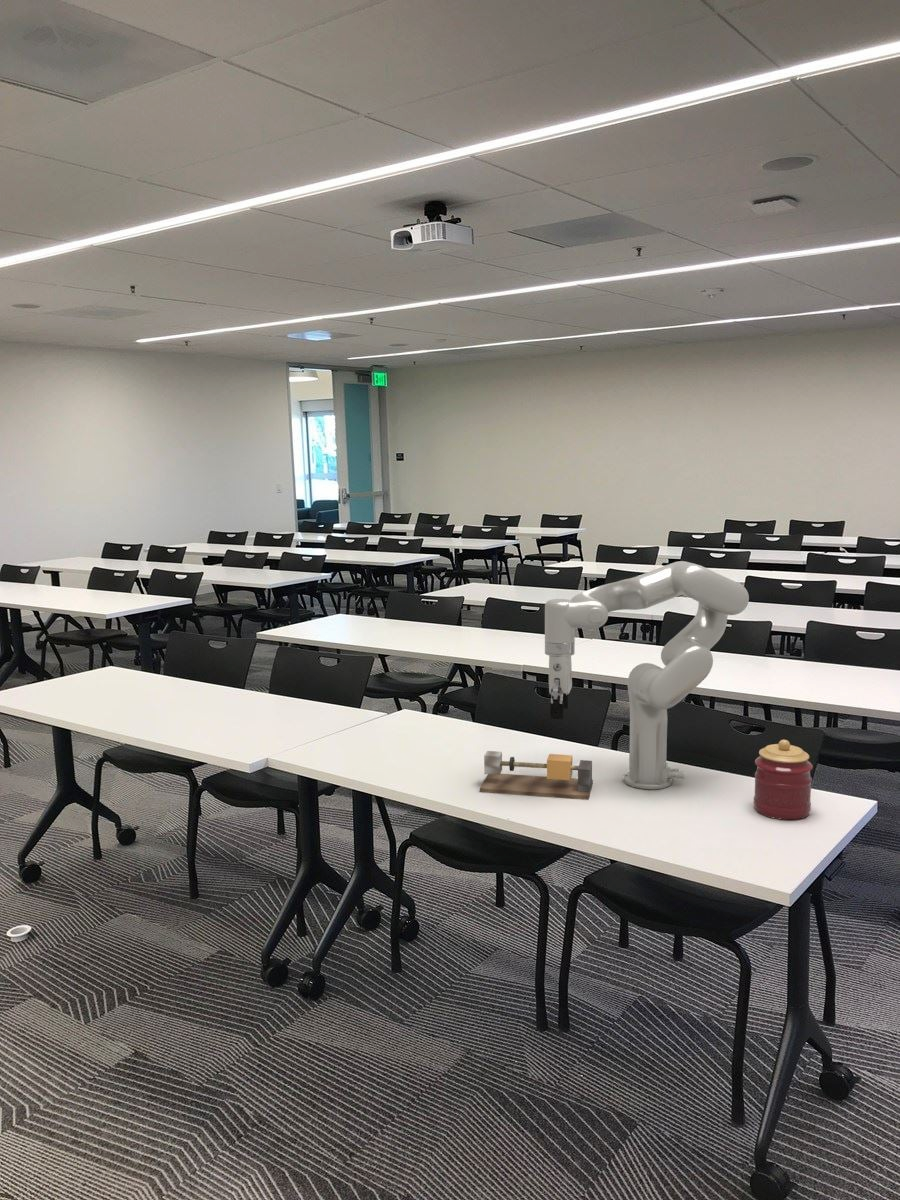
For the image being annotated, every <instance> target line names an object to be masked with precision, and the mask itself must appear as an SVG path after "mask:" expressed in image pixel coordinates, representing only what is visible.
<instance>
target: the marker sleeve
mask: <svg viewBox="0 0 900 1200" xmlns="http://www.w3.org/2000/svg"><path fill="white" fill-rule="evenodd" d="M546 764H547V768H546V777H547V779H558V780H571V778H573V776H572V775H573V770H571V765H573V754H571V755H570V754H555V753H549V754H548V756H547V759H546Z"/></svg>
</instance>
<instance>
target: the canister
mask: <svg viewBox="0 0 900 1200" xmlns="http://www.w3.org/2000/svg"><path fill="white" fill-rule="evenodd" d="M758 751H759V752H758V754H759V756H758V757H756V758H755V760H754V764H755V765H756V766H757V767H756V771H755V772H754V796H753V805H754V809H755V811H756V810H757V811H756V812H757V813H759V814H761V815H763V816H765V815H766V817H768V816H769V817H768V818H771V817H774V818H773V819H776V818H781V819H780V820H783V819H796V820H800V819H799V818H802V819H804V818H803V817H805V818H807V817H808V816H810V811H811V810H812V806H811V805H812V802H811V797H812V796H811V795H812V794H811V791H812V782H813V779H812V778H813V777H812V776H811V771H812V769H813V763H811V762H810V761H809V759H810V755H809V754H808V753H807V752H806V751H805V750H803V748H801V747H799V746H796V745H792V744H791V743H790V741H789V740H787V739H780V741H779V742H778V743H775V744H768V745H766V746H765V747H763V748H761V749H759V750H758ZM806 816H807V817H806Z"/></svg>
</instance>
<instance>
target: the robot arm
mask: <svg viewBox="0 0 900 1200" xmlns="http://www.w3.org/2000/svg"><path fill="white" fill-rule="evenodd" d="M680 596H684V597H688V598H690V599H692V600H693V601H694V600H695V601H696V602H698V607H697V612H696V613H695V615H694V617H693V619H692V620H691V621H690V622H689V623H688V624H687V625H686V626H685V627H683V628H682V629H681V630H680V631H679V632H678V633H677V634H676V635H675V636H673V637H672V638H671V639H670V640H669V641H668V642H667V643H666V644H665V645H664V646H663V648H662V649H661V652H660V653H661V654H660V660H661V662H662V663H663V665H664V667H663V668H662V667H661V666H658V665H656V664H654V663H650V662H645V663H639V664H638V665H636V666H635V667H633V668H632V670H631V671H630V672H629V675H628V679H627V691H628V692H627V693H628V700H629V701H628V702H629V720H630V721H629V759H628V760H629V769H628V771H627V772H625V773H624V774H623V782H624V783H625V784H627V785H628V786H631V787H634V788H636V789H643V790H660V789H664V788H667V787H669V786H671V785H672V783H673V778H676V779H683V780H684V779H685V778H684V777H685V771H684V770H680V769H679V768H671V767H670V766H668V763H669V762H667V749H668V748H667V746H668V743H667V739H668V709H671V708H673V707H675V706H676V705H677V704H679V703H680V702H681V701H682V700H683V699H684V698H685V697H687V696H688V695H689V694H690V693H691V692H692V691H693V690H694V689H695V688H697V687H698V686H699V685H700V684H701V683H702V682H703V681H704V680H706V678H707V677H708V676H709V674H710V673H711V671H712V668H713V664H714V658H713V654H712V652H711V649H712V648H713V647H714V646H715V645H716V644H717V643H718V642H719V641H720V640H721V638H722V636H723V635H724V633H725V630H726V629H727V624H728V623H727V622H728V616H736V615H738V614H741V613H742V612H744V611H745V610H746V608H747V607H748V605H749V602H750V601H749V600H750V596H749V592H748V590H747V589H746V587H745V586H744V585H742V583H739V582H738V581H735V580H733V579H731V578H729V577H726V576H725V575H721V574H719V573H717V572H715V571H713V570H711V569H709V568H706V567H705V566H702V565H700V564H696V563H693V562H689V561H684V560H681V561H679V560H678V561H674V562H672V563H668V564H666V565H663V566H662V567H658V568H655V569H652V570H651V571H647V572H645V573H642V574H640V575H636V576H633V577H630V578H625V579H620V580H618V581H615V582H610V583H606V584H602V585H599V586H596V587H594V588H591V589H588V590H585V591H583V592H580V593H577V594H576V595H574V596H573V597H572V598H570V599H566V598H552V599H549V600H547V601H546V602H545V604H544V654H545V655H546V656H548V691H549V693H550V695H551V697H550V707H549V708H550V709H549V710H550V711H549V713H550V714H549V715H550V719H551V720H552V719H553V720H563V719H564V710H567V709H568V708H569V694H570V692H571V690H572V688H573V675H572V674H573V670H572V664H573V663H572V656H574V655H575V653H576V651H575V642H576V640H575V639H576V637H575V636H576V635H575V632H576V629H584V630H585V629H587V630H595V629H599V628H601V627H602V626H605V624H606V623H607V621H608V618H609V613H611V612H614V611H621V610H622V611H623V610H625V611H626V610H631V611H632V610H634V611H636V610H644V609H648V608H651V607H653V606H656V605H659V604H662V603H664V602H666V601H669V600H671V599H675V598H677V597H680Z"/></svg>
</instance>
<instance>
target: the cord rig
mask: <svg viewBox="0 0 900 1200" xmlns="http://www.w3.org/2000/svg"><path fill="white" fill-rule="evenodd" d="M483 755H484V756H483V760H484V761H483V762H484V763H483V764H484V767H483V769H484V774H483V775H486V776H485V779H484V780H483V782H482V783H481V785H480V787H479V793H487V794H488V793H489V794H503V795H515V796H516V795H517V796H530V797H531V796H532V797H544V798H545V797H546V798H559V799H560V798H561V799H570V800H571V799H574V800H585V801H586V800H588V801H589V799H590V796H591V792H592V788H593V784H594V780H593V760H588V759H587V760H585V759H580V761H579V764H578V765H573V764H572V765H571V770H572V771H577V778H573V777H571V780H558V779H547V775H546V776H545V775H543V776H542V775H530V774H529V775H527V774H512V773H502V771H503V766H504V767H508V768H509V771H510V772H514V770H515V767H516V768H518V767H519V768H535V769H547V763H538V762H524V761H515V757H514V756H510V758H509V761H507V760H503V751H498V750H497V751H496V750H486V752H485V754H483Z"/></svg>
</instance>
